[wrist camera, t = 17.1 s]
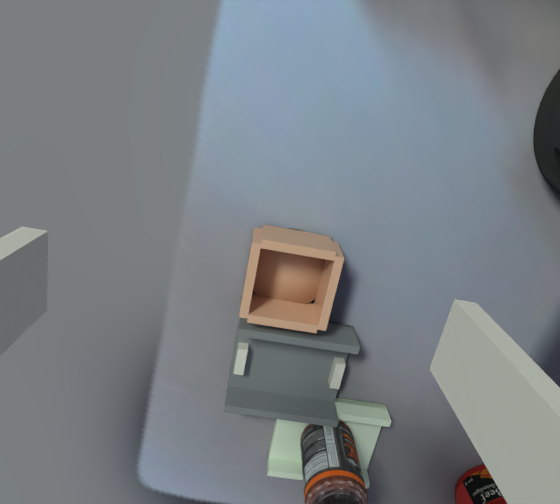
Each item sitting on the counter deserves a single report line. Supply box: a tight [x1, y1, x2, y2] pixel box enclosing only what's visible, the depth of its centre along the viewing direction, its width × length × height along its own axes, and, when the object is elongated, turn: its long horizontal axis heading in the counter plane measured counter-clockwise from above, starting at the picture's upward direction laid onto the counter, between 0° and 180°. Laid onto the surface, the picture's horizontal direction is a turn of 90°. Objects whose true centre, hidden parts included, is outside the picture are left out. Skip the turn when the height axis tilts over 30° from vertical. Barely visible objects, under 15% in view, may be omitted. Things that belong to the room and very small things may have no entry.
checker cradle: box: [224, 317, 360, 427], centre depth 44 cm, size 12×10×4 cm
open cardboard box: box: [239, 225, 344, 333], centre depth 40 cm, size 8×8×5 cm
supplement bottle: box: [300, 420, 368, 504], centre depth 43 cm, size 6×6×11 cm
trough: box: [267, 397, 391, 488], centre depth 48 cm, size 12×10×3 cm
